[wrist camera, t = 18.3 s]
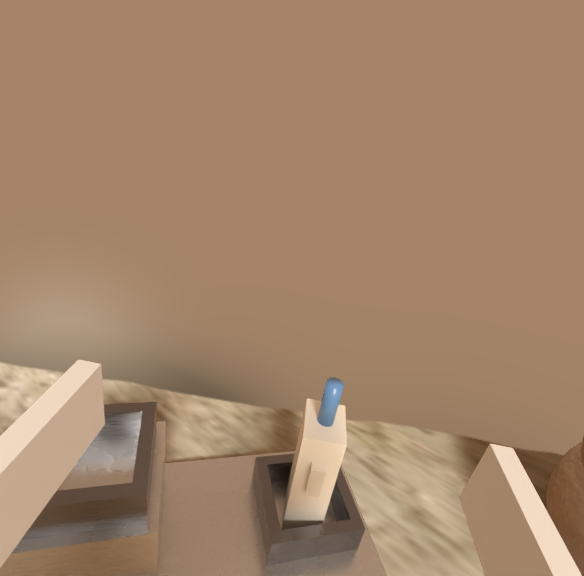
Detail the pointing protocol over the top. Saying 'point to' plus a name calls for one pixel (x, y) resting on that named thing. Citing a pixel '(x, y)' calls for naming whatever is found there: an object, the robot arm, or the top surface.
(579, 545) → the ceramic bowl
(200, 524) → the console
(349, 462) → the top surface
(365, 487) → the top surface
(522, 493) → the robot arm
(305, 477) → the plug
